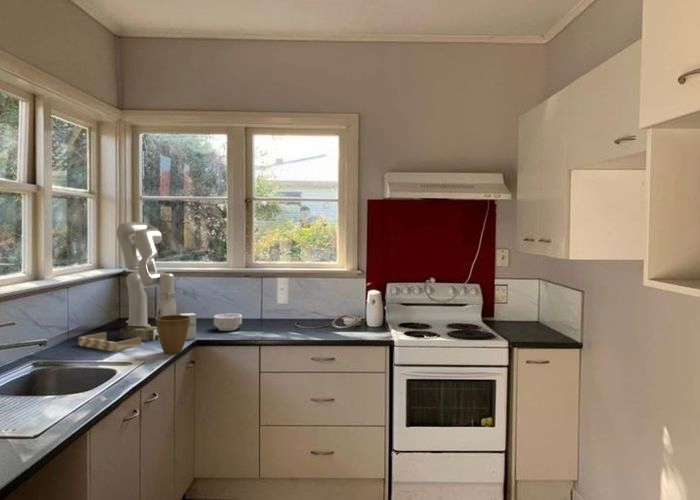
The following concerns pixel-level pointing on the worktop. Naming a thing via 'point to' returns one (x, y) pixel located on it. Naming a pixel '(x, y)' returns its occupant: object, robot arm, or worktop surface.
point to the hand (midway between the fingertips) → (167, 330)
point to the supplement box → (191, 326)
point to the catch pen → (107, 342)
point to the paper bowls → (227, 321)
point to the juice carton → (139, 332)
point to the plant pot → (172, 332)
